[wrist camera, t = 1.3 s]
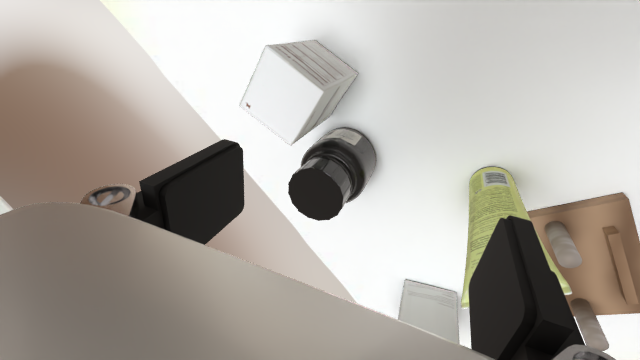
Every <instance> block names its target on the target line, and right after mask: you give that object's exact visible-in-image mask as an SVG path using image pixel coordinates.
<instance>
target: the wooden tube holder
mask: <svg viewBox="0 0 640 360" xmlns="http://www.w3.org/2000/svg"><path fill="white" fill-rule="evenodd" d="M527 213H528V216H529V218H530V220H531V222H532V223H533V226H534V228H535V230H536V232H537V234H538V236H539V238H540V239H541V241H542V243H543V245H544V247H545V249H546V250H547V252H548V254H549V256H550V257H551V259H552V261H553V262H554V264H555V266H556V267H557V269H558V270H559V272H560V273H561V275H562V276H563V277H564V279H565V280H566V282H567V283H568V284H569V286H570V288H571V291H572V294H569V295H565V297H566V300H567V302H568V305H569V307H570V309H571V312H572V314H573V316H575V317H576V320H577V322H578V325H579V328H580V330H581V333H582V335H583V338H584V340H585V343H586V345H587V346H589V347H593V348H596V349H598V350H600V351H605V350H607V349H608V348H609V344H608V341H607V339H606V337H605V335H604V333H603V331H602V329H601V326H600V324H599V322H598V320H597V318H596V316H595V315H612V314H632V313H640V241H639V237H638V234H637V230H636V226H635V222H634V218H633V214H632V210H631V206H630V202H629V199H628V198H627V197H626V196H625V195H624V194H623V193H617V194H613V195H608V196H603V197H598V198H593V199H588V200H583V201H578V202H573V203H568V204H563V205H558V206H553V207H548V208H544V209H539V210H534V211H529V212H527Z"/></svg>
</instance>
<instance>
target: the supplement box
mask: <svg viewBox="0 0 640 360" xmlns="http://www.w3.org/2000/svg"><path fill="white" fill-rule="evenodd" d="M357 75H358V73H357V72H356V71H354V70H353V69H352V68H350V67H349V66H348V65H347V64H345V63H344V62H343V61H341V60H340V59H339V58H338V57H336V56H335V55H334V54H332V53H331V52H330V51H328V50H327V49H326V48H325V47H323V46H322V45H321V44H319V43H318V42H317V41H315V40H312V41H302V42H293V43H285V44H276V45H266V46H265V48H264V50H263V52H262V54H261V57H260V59H259V62H258V64H257V66H256V68H255V71H254V73H253V75H252V77H251V79H250V82H249V84H248V87H247V89H246V91H245V94H244V96H243V98H242V100H241V102H240V105H239V106H240V107H241V108H243V109H244V110H245V111H247V112H248V113H249V114H250V115H252V116H253V117H254V118H255V119H257V120H258V121H259V122H260V123H262V124H263V125H264V126H266V127H267V128H268V129H269V130H271V131H272V132H273V133H274V134H276V135H277V136H278V137H280V138H281V139H282V140H283V141H285V142H286V143H287V144H289V145H292V144H294V143H295V142H296V141H298V140H299V139H300V138H302V137H303V136H304V135H306V134H307V133H308V132H310V131H311V130H312V129H314V128H315V127H317V126H318V125H319V124H320V123H322V122H323V121H325V120H326V119H327V118H329V117H330V115H331V114H332V112H333V110H334V109H335V107H336V106H337V104H338V102H339V101H340V99H341V98H342V96H343V95H344V93H345V92H346V90H347V89H348V88H349V86H350V85H351V83H352V82H353V80H354V79H355V78H356V76H357Z"/></svg>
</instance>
